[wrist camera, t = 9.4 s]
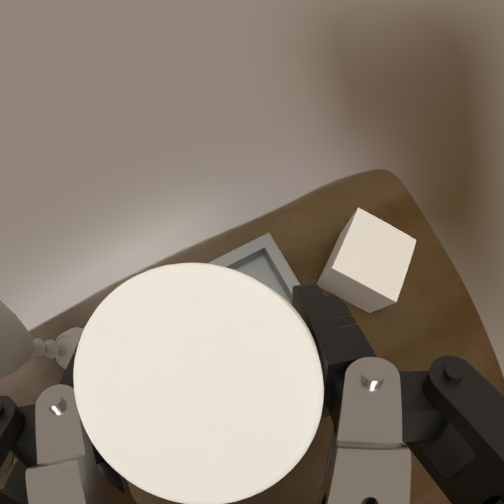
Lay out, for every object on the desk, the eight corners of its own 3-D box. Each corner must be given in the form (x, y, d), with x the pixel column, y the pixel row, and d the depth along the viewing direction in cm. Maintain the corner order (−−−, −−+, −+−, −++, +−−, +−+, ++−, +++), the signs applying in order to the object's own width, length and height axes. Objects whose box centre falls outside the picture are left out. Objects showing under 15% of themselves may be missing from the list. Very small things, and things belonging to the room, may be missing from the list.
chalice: (60, 390, 24) (-79, 393, 7) (44, 328, 26) (-89, 287, 9) (116, 376, 25) (-27, 380, 8) (97, 309, 27) (-38, 248, 10)
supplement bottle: (303, 398, 13) (410, 464, 4) (194, 439, 12) (115, 555, 3) (258, 293, 14) (282, 177, 5) (151, 334, 14) (11, 286, 4)
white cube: (369, 313, 28) (396, 302, 22) (315, 285, 29) (331, 268, 23) (389, 260, 29) (416, 239, 24) (339, 233, 30) (358, 207, 25)
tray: (194, 425, 24) (188, 433, 21) (136, 310, 27) (125, 305, 24) (330, 354, 26) (340, 353, 23) (266, 244, 30) (269, 232, 27)
